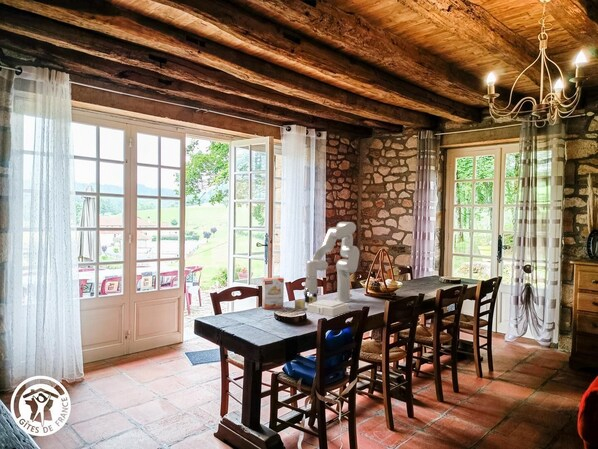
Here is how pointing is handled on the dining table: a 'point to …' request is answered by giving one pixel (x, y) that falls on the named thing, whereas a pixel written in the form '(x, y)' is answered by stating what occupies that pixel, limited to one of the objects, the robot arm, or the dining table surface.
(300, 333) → the dining table surface
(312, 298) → the brass weight
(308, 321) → the dining table surface
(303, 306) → the brass weight
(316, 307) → the kitchen scale
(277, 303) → the cracker box
